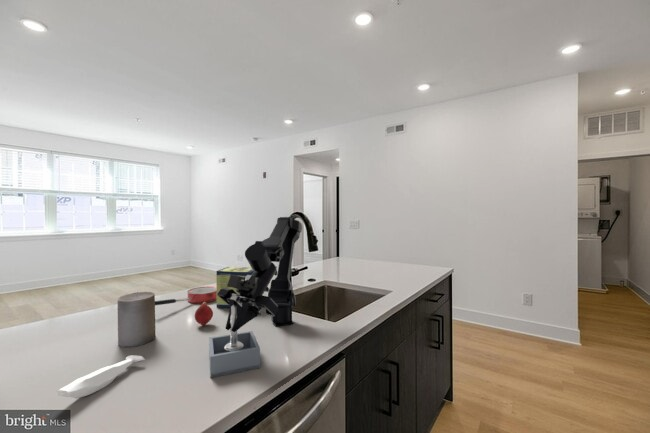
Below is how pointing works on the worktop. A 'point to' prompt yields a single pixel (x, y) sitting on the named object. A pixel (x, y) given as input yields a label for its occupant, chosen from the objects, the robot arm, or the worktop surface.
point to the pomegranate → (203, 314)
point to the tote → (233, 355)
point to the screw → (233, 334)
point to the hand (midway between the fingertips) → (229, 330)
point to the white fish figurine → (96, 379)
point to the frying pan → (195, 296)
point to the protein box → (224, 277)
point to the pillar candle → (136, 319)
